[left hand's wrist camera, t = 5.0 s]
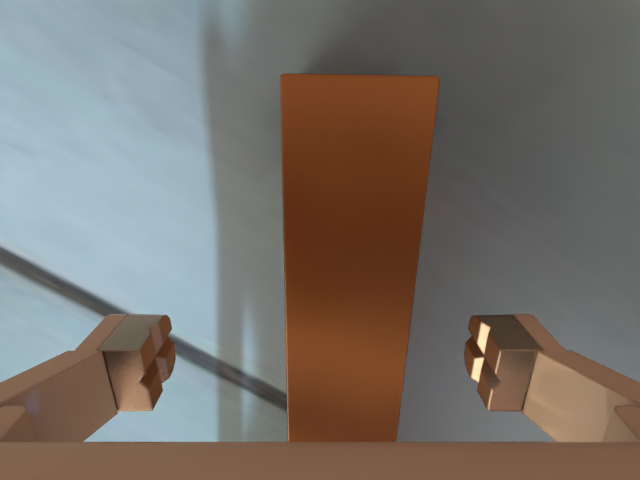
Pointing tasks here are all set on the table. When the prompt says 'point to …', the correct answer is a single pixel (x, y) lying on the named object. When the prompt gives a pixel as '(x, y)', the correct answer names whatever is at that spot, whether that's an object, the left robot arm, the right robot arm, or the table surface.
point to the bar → (351, 246)
